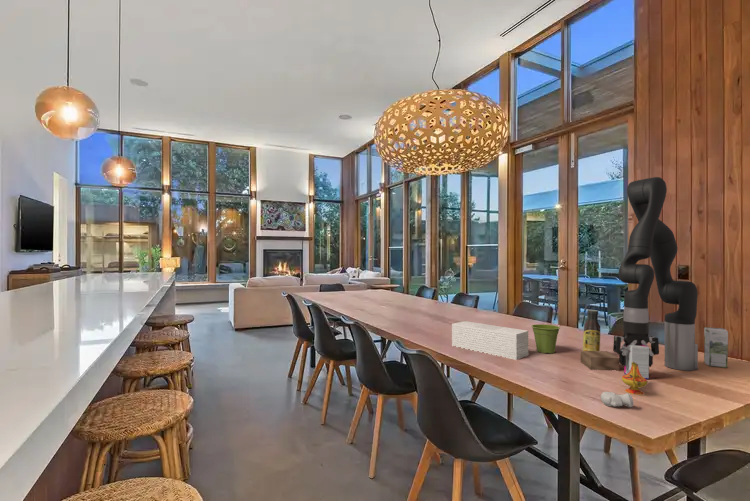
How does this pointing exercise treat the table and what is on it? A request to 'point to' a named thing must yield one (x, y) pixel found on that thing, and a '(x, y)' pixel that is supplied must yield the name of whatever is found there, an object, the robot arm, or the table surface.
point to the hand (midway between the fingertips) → (635, 365)
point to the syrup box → (716, 347)
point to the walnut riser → (599, 360)
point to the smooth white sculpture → (616, 399)
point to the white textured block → (491, 339)
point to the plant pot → (545, 337)
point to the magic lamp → (634, 380)
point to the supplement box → (638, 360)
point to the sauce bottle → (591, 332)
